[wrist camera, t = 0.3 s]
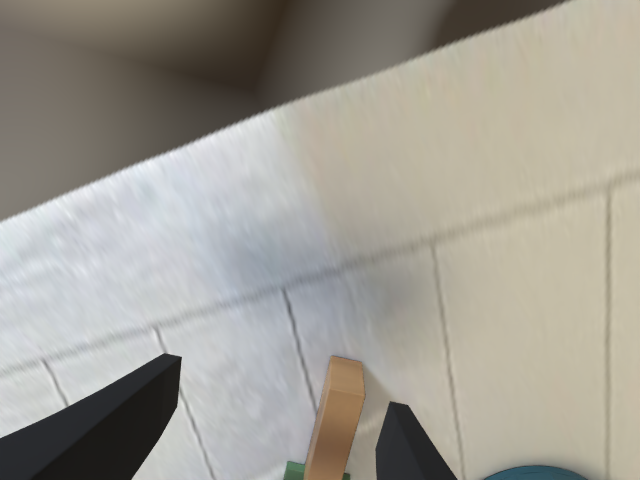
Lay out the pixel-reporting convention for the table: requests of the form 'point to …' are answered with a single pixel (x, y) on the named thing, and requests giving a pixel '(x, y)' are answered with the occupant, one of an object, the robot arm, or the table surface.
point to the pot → (536, 474)
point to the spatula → (333, 424)
